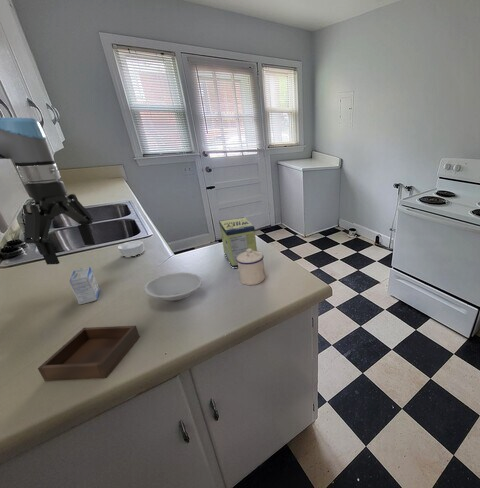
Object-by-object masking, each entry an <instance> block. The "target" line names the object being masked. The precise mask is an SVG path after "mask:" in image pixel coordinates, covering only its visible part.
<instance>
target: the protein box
mask: <svg viewBox="0 0 480 488" xmlns="http://www.w3.org/2000/svg"><path fill="white" fill-rule="evenodd" d="M218 224H219V229H220V236H221V241H222V248H223V254H224V253H225V254H224V256H225V255H226V256H225V258H226V257H227V258H226V260H227V259H228V260H229V262H230V264H231V266H232V267H238V262H237V260H236V259H237V256H238V255H239V254H241V253H243V252H246V250H247V249H252V251H258V247H257V246H258V245H257V238H256V229H255V228H256V227H255V226H254V225H253V224H252V223H251V222H250V221H249V220H247V218H246V217H245V216H242V217H241V216H240V217H235V218H227V219H221V220H218ZM228 260H227V261H228ZM229 262H228V263H229ZM230 264H229V265H230ZM231 266H230V267H231ZM232 267H231V268H232Z"/></svg>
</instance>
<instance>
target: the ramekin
mask: <svg viewBox="0 0 480 488" xmlns="http://www.w3.org/2000/svg"><path fill="white" fill-rule="evenodd" d="M117 249H118V251H119V253H120V254H121V256H122V257H123V256H133V255H136V254H139V253H141V252H142V251H143V250H144V251H145V249H144V242H143V241H142V240H131V241H127V242H124V243H121V244H119V245H118V246H117Z"/></svg>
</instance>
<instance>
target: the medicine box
mask: <svg viewBox="0 0 480 488" xmlns="http://www.w3.org/2000/svg"><path fill="white" fill-rule="evenodd" d="M69 285H70V286H71V289H72V291H73V293H74V295H75V298H76V300H77V302H78V304H79V305H85V304H88V303H92V302H96V301H98V298H99V292H100V287H99V285H98V282H97V279H96V278H95V275H94V272H93V269H92V267H90V266H88V267H83V268H79V269H75V270H73V272H72V274H71V277H70V279H69Z"/></svg>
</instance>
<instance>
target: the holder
mask: <svg viewBox="0 0 480 488" xmlns="http://www.w3.org/2000/svg"><path fill="white" fill-rule="evenodd" d="M140 337H141V336H140V334H139V331H138V328H137V325H117V326H115V325H114V326H91V327H83V328H82V329H80V330H79V331H78V332H77V333H76V334H75V335H74V336H73V337H72V338H70V339H69V340H68V341H67V342H66V343H65V344H63V345H62V347H60V348H59V349H58V350H57V351H56V352H55V353H53V354H52V355H51V356H50V357H48V359H46V360H45V361H44V362H43V363H42V364H41V365H40V366H38V367H37V370H38V372H39V374H40V375H41V377H42V380H43V381H44V382H50V381H68V380H69V381H70V380H90V379H106V378H107V377H108V376H109V375H110V374H111V372H112V371H113V370H114V369H115V368H116V366H118V364H119V363H120V361H122V359H123V358H124V357H125V356H126V354H127V353H128V352H129V351H130V349H131V348H132V347H133V345H134V344H135V343H136V342H137V341H138V339H139V338H140Z"/></svg>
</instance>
